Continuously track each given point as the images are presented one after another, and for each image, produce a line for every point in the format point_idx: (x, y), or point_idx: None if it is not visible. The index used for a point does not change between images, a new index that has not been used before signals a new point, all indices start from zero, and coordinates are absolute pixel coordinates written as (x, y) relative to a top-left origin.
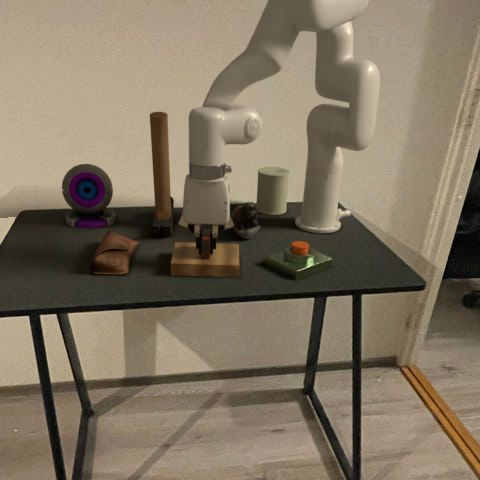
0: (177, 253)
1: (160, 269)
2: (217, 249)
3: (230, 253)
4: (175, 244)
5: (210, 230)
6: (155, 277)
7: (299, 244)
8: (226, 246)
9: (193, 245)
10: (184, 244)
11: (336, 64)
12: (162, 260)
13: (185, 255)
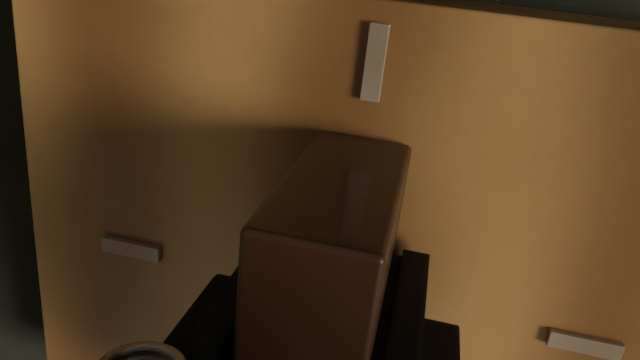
0: (73, 257)
1: (31, 252)
2: (486, 217)
3: (618, 356)
4: (17, 30)
5: (369, 330)
6: (25, 354)
7: None
8: (634, 134)
9: (210, 73)
10: (109, 36)
11: None
12: (12, 98)
13: (146, 309)
